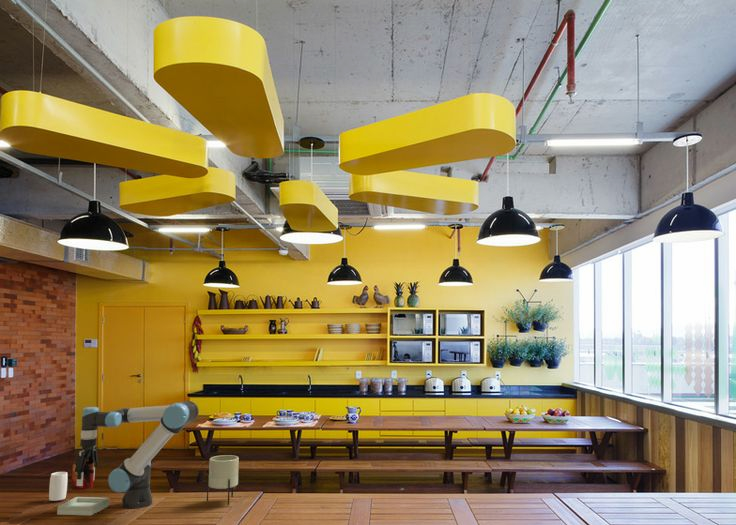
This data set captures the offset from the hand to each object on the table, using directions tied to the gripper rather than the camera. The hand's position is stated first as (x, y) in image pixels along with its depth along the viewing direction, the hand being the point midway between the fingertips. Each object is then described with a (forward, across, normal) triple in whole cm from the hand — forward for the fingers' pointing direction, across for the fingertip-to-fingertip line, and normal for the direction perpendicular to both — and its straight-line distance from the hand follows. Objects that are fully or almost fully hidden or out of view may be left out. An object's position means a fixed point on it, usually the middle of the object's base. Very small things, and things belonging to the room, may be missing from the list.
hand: (85, 483), depth 287 cm
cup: (+14, -14, -23) cm, 30 cm away
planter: (+13, -19, +66) cm, 70 cm away
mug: (+2, 0, 0) cm, 2 cm away
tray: (+13, 0, 0) cm, 13 cm away
